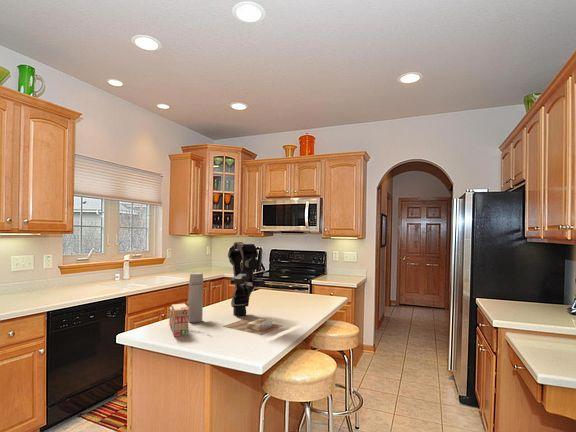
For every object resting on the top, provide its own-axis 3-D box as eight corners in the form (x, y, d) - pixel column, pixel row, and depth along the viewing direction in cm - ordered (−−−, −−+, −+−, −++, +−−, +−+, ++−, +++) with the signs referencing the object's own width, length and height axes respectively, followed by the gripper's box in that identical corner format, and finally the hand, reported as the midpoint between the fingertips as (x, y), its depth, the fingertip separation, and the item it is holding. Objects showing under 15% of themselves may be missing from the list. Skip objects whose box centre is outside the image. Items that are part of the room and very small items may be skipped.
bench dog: (260, 330, 159) (260, 322, 159) (269, 326, 164) (269, 319, 165) (263, 330, 158) (263, 323, 158) (272, 327, 164) (272, 319, 164)
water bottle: (205, 320, 181) (206, 273, 182) (196, 323, 174) (197, 274, 175) (192, 318, 185) (193, 272, 186) (182, 321, 178) (183, 273, 179)
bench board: (222, 329, 164) (222, 326, 164) (246, 321, 179) (246, 318, 179) (261, 338, 151) (261, 334, 151) (283, 328, 166) (283, 325, 166)
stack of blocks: (168, 325, 171) (169, 300, 172) (181, 324, 174) (182, 299, 175) (174, 337, 152) (174, 309, 153) (188, 335, 155) (189, 308, 155)
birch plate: (247, 328, 161) (247, 323, 161) (259, 323, 170) (259, 318, 170) (258, 331, 157) (258, 325, 157) (271, 326, 166) (271, 320, 166)
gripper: (223, 268, 173) (222, 299, 173) (252, 270, 163) (251, 303, 163) (238, 266, 183) (237, 295, 182) (265, 268, 173) (265, 299, 172)
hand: (247, 298), depth 174 cm, fingers closed
